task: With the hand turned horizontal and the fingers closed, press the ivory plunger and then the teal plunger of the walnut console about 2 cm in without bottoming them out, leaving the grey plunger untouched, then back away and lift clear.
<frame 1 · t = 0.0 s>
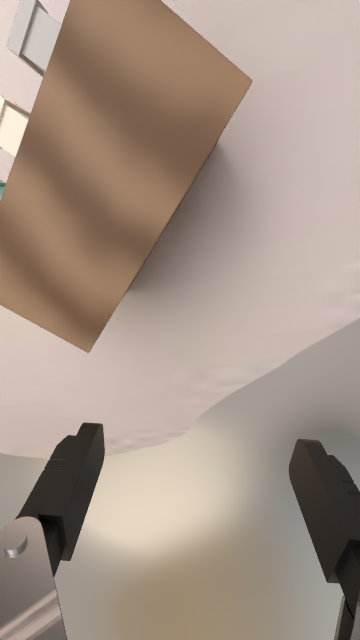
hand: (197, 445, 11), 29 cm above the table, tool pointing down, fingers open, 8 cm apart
console: (134, 201, 35), on the table
ivory key: (46, 152, 25), point 9 cm above the table, slide at 0.0 cm
teal key: (20, 220, 27), point 9 cm above the table, slide at 0.0 cm
grey key: (78, 70, 23), point 9 cm above the table, slide at 0.0 cm
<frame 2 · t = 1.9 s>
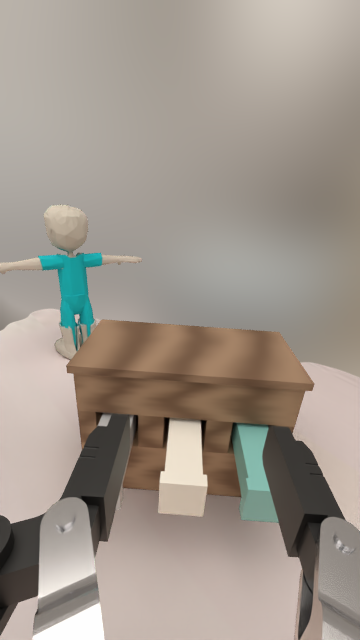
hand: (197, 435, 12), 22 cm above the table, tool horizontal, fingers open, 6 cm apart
console: (180, 455, 37), on the table
ivory key: (183, 454, 26), point 9 cm above the table, slide at 0.0 cm
toy: (77, 350, 60), on the table
teal key: (256, 459, 26), point 9 cm above the table, slide at 0.0 cm
grey key: (111, 448, 26), point 9 cm above the table, slide at 0.0 cm
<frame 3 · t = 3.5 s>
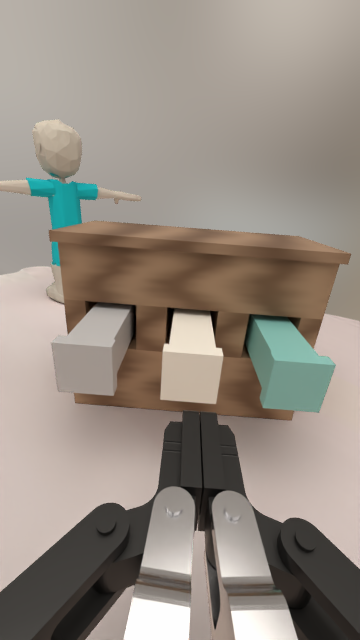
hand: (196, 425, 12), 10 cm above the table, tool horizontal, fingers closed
console: (184, 381, 32), on the table
ivory key: (190, 345, 22), point 9 cm above the table, slide at 0.0 cm
toy: (70, 297, 56), on the table
teal key: (277, 352, 22), point 9 cm above the table, slide at 0.0 cm
grey key: (103, 338, 22), point 9 cm above the table, slide at 0.0 cm
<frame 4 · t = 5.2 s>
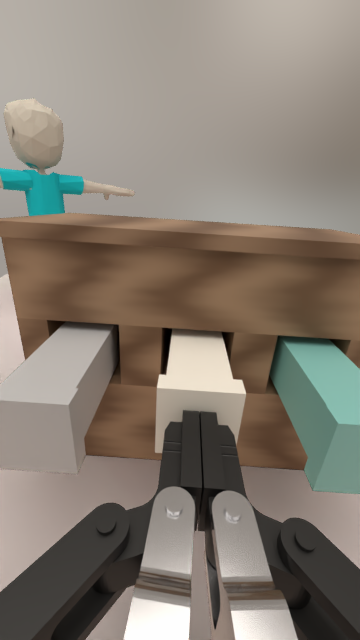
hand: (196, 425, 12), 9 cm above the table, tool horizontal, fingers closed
console: (186, 415, 25), on the table
ivory key: (195, 370, 16), point 9 cm above the table, slide at 1.4 cm, touching gripper
toy: (55, 306, 49), on the table
teal key: (322, 392, 15), point 9 cm above the table, slide at 0.0 cm
grey key: (70, 375, 15), point 9 cm above the table, slide at 0.0 cm
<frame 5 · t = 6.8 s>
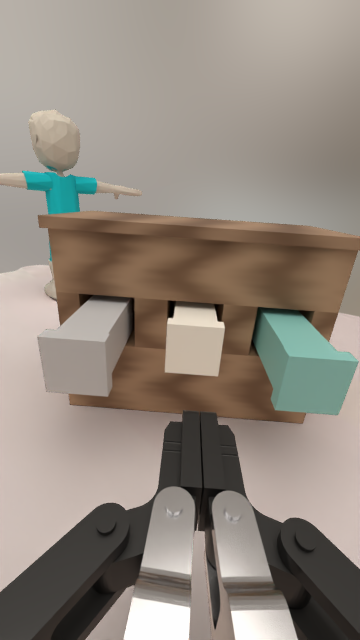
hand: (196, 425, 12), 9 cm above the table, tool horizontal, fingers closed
console: (186, 381, 30), on the table
ivory key: (193, 324, 23), point 9 cm above the table, slide at 3.0 cm
toy: (69, 295, 54), on the table
teal key: (289, 349, 20), point 9 cm above the table, slide at 0.0 cm
grey key: (98, 334, 20), point 9 cm above the table, slide at 0.0 cm
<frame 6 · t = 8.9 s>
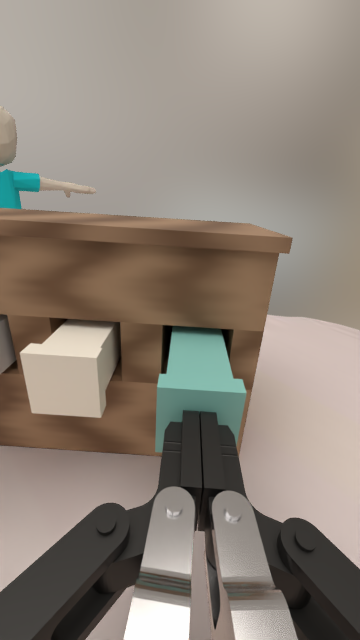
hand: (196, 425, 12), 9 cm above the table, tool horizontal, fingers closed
console: (112, 407, 26), on the table
ivory key: (90, 346, 18), point 9 cm above the table, slide at 3.0 cm
toy: (18, 302, 49), on the table
teal key: (195, 369, 16), point 9 cm above the table, slide at 1.1 cm, touching gripper
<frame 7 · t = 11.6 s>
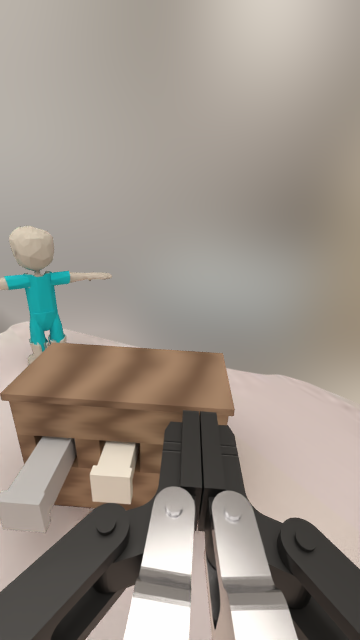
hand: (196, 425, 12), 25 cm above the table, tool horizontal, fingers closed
console: (131, 472, 38), on the table
ivory key: (121, 451, 30), point 9 cm above the table, slide at 3.0 cm
toy: (49, 364, 62), on the table
grey key: (45, 471, 28), point 9 cm above the table, slide at 0.0 cm
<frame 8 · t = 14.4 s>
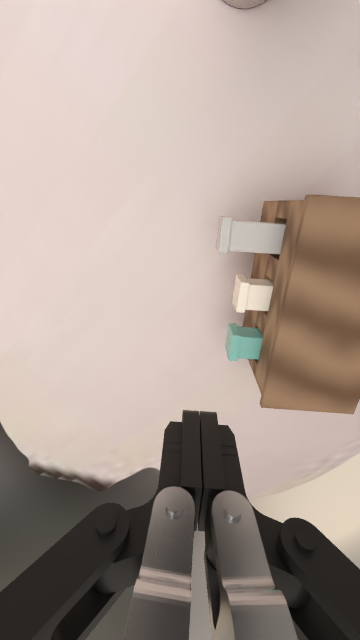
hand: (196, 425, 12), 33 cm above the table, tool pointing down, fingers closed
console: (283, 279, 43), on the table
ivory key: (270, 295, 35), point 9 cm above the table, slide at 3.0 cm
teal key: (260, 343, 37), point 9 cm above the table, slide at 3.0 cm
grey key: (256, 236, 32), point 9 cm above the table, slide at 0.0 cm
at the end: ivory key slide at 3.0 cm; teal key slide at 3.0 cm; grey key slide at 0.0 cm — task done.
